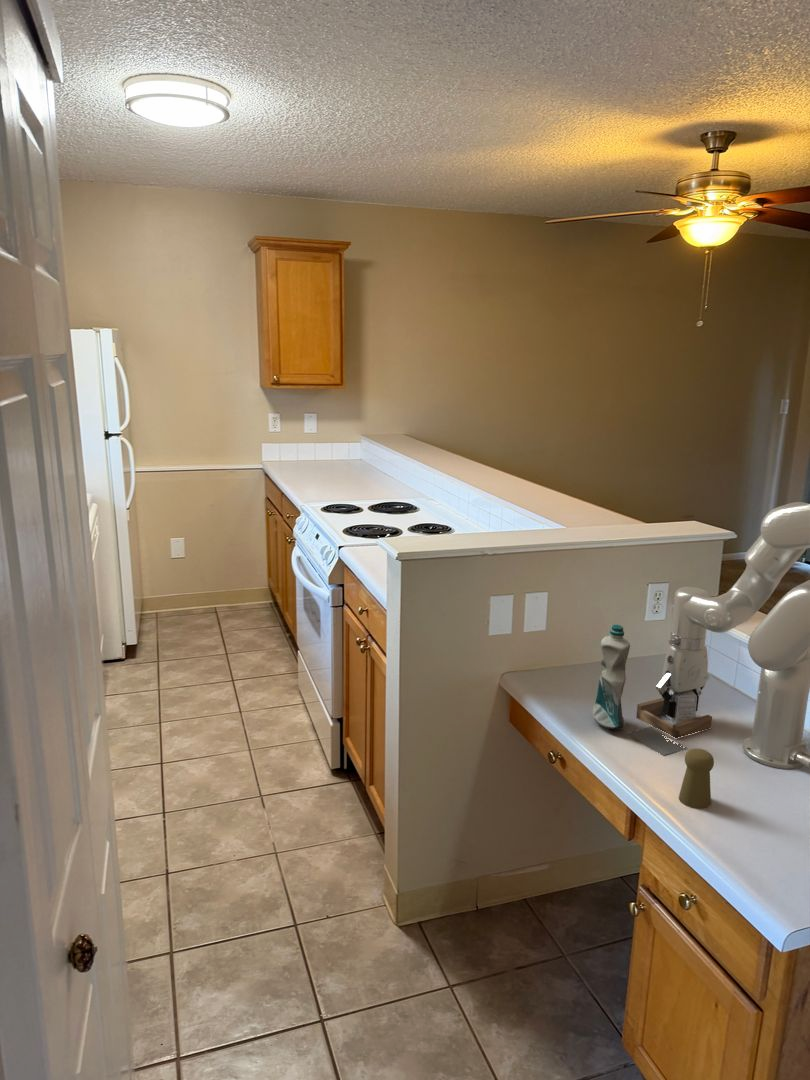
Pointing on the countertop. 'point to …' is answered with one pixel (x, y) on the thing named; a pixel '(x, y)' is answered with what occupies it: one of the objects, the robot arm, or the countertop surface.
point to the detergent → (611, 680)
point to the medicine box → (684, 706)
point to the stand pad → (655, 741)
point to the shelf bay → (655, 707)
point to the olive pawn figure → (697, 779)
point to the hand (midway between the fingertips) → (679, 711)
